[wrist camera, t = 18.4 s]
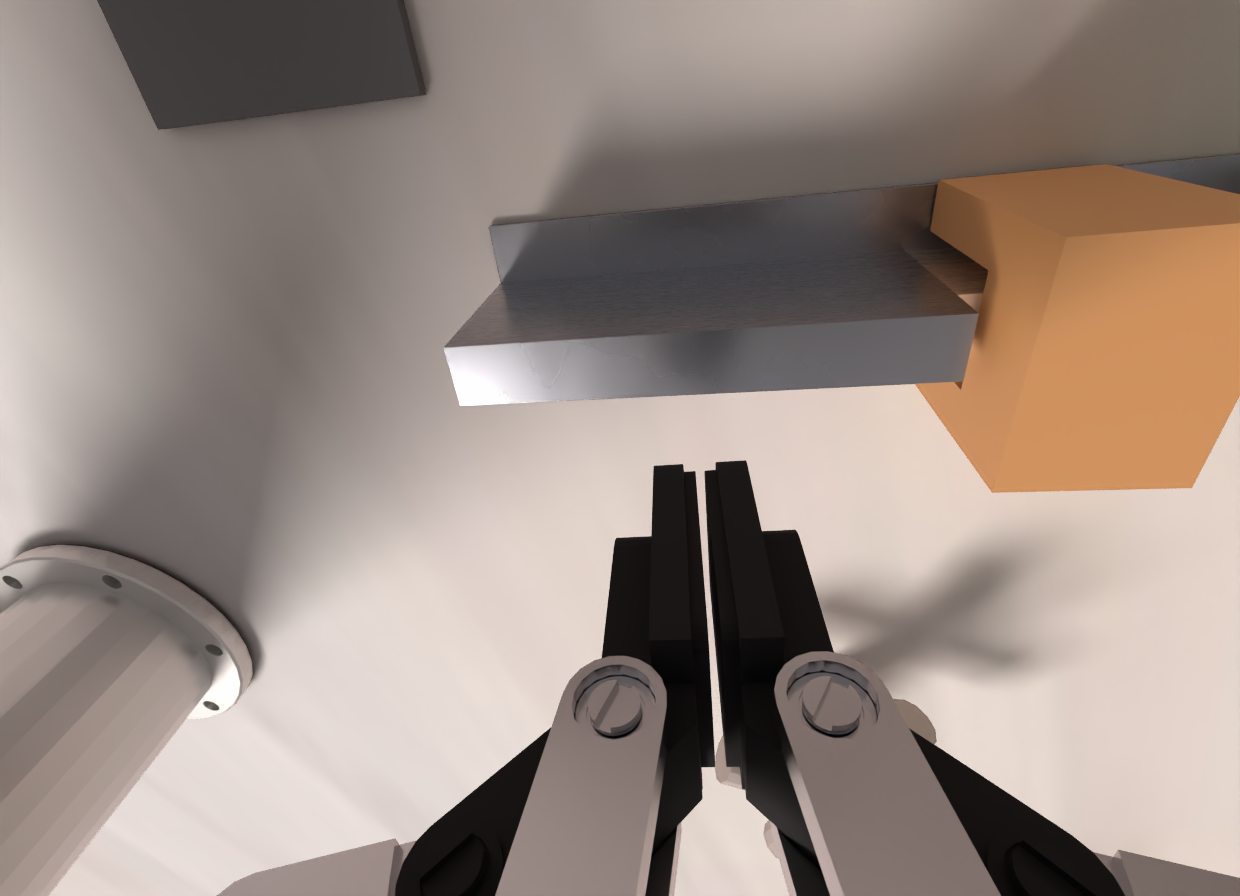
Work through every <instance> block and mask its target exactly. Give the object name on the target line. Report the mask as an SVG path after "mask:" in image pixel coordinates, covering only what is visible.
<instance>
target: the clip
mask: <svg viewBox="0 0 1240 896" xmlns="http://www.w3.org/2000/svg"><path fill="white" fill-rule="evenodd" d="M930 231H931V232H933V233H934V234H935V235H937V236H938V237H940V238H941V239H943V240H944V241H946V242H947V243H949V244H950V245H952V246H953V247H955V248H956V249H958V250H959V251H961V252H962V253H964V254H965V255H967V256H968V257H969V258H971V259H972V260H974V261H975V262H977V263H978V264H980V265H981V266H983V267H984V268H986V269H987V270H989V271H988V275H987V279H986V284H985V288H984V292H983V297H982V301H981V306H980V310H979V316H978V320H977V324H976V329H975V333H974V338H973V342H972V346H971V351H970V355H969V359H968V364H967V368H966V372H965V377H964V381H962V382H942V383H921V384H915V385H916V386H917V388H918V389H919V390H920V392H921V393H922V395H923V396H924V398H925V399H926V400H927V402H928V403H929V405H930V406H931V407H932V409H933V410H934V412H935V413H936V414H937V416H938V417H939V419H940V420H941V421H942V423H943V424H944V426H945V427H946V428H947V430H948V431H949V433H950V434H951V436H952V437H953V438H954V440H955V441H956V443H957V444H958V445H959V447H960V448H961V450H962V451H963V452H964V454H965V455H966V457H967V458H968V459H969V461H970V462H971V464H972V465H973V466H974V468H975V469H976V471H977V472H978V473H979V475H980V476H981V478H982V479H983V481H984V482H985V483H986V485H987V486H988V488H989V489H990V490H991V492H992V493H993V492H1037V491H1080V490H1123V489H1166V488H1192V487H1193V485H1194V483H1195V481H1196V479H1197V477H1198V475H1199V473H1200V471H1201V469H1202V467H1203V466H1204V464H1205V462H1206V460H1207V458H1208V456H1209V454H1210V452H1211V450H1212V448H1213V446H1214V444H1215V442H1216V440H1217V439H1218V437H1219V435H1220V433H1221V431H1222V429H1223V427H1224V425H1225V423H1226V421H1227V419H1228V417H1229V415H1230V413H1231V412H1232V410H1233V408H1234V406H1235V404H1236V402H1237V400H1238V398H1239V396H1240V194H1236V193H1231V192H1227V191H1223V190H1218V189H1214V188H1209V187H1205V186H1201V185H1196V184H1192V183H1188V182H1183V181H1179V180H1174V179H1170V178H1166V177H1161V176H1157V175H1152V174H1148V173H1144V172H1139V171H1135V170H1131V169H1126V168H1122V167H1117V166H1113V165H1109V164H1100V165H1089V166H1079V167H1069V168H1058V169H1048V170H1037V171H1027V172H1017V173H1006V174H996V175H985V176H975V177H965V178H954V179H944V180H939V181H938V187H937V193H936V199H935V205H934V211H933V217H932V223H931V228H930Z"/></svg>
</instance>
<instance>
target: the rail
mask: <svg viewBox="0 0 1240 896" xmlns="http://www.w3.org/2000/svg"><path fill="white" fill-rule="evenodd" d="M1117 167H1122V168H1126V169H1131V170H1135V171H1139V172H1144V173H1148V174H1152V175H1157V176H1161V177H1166V178H1170V179H1174V180H1179V181H1183V182H1188V183H1192V184H1196V185H1201V186H1205V187H1209V188H1214V189H1218V190H1223V191H1227V192H1231V193H1236V194H1240V154H1233V155H1223V156H1212V157H1202V158H1191V159H1181V160H1170V161H1160V162H1149V163H1139V164H1128V165H1118V166H1117ZM937 187H938V183H929V184H919V185H908V186H898V187H887V188H877V189H866V190H856V191H845V192H835V193H824V194H814V195H803V196H793V197H783V198H772V199H762V200H751V201H741V202H730V203H720V204H709V205H699V206H688V207H678V208H667V209H657V210H646V211H636V212H625V213H615V214H604V215H594V216H583V217H573V218H562V219H552V220H541V221H531V222H521V223H510V224H500V225H490V226H489V231H490V235H491V240H492V245H493V249H494V254H495V258H496V263H497V267H498V272H499V276H500V281H501V284H500V285H499V286H498V287H497V288H496V289H495V290H494V292H493V293H492V294H491V295H490V296H489V297H488V298H487V299H486V301H485V302H484V303H483V304H482V305H481V306H480V307H479V308H478V310H477V311H476V312H475V313H474V314H473V315H472V316H471V317H470V319H469V320H468V321H467V322H466V323H465V324H464V325H463V326H462V328H461V329H460V330H459V331H458V332H457V333H456V334H455V335H454V337H453V338H452V339H451V340H450V341H449V342H448V343H447V344H446V346H445V347H444V352H445V355H446V359H447V362H448V365H449V369H450V372H451V376H452V379H453V383H454V386H455V390H456V393H457V396H458V400H459V403H460V406H471V405H491V404H512V403H532V402H553V401H573V400H594V399H614V398H635V397H655V396H676V395H696V394H716V393H737V392H757V391H778V390H798V389H819V388H839V387H860V386H880V385H901V384H921V383H942V382H962V381H964V377H965V372H966V368H967V364H968V359H969V355H970V351H971V346H972V342H973V338H974V333H975V329H976V324H977V320H978V316H979V310H980V306H981V301H982V297H983V292H984V288H985V284H986V279H987V275H988V271H989V270H987V269H986V268H984V267H983V266H981V265H980V264H978V263H977V262H975V261H974V260H972V259H971V258H969V257H968V256H967V255H965V254H964V253H962V252H961V251H959V250H958V249H956V248H955V247H953V246H952V245H950V244H949V243H947V242H946V241H944V240H943V239H941V238H940V237H938V236H937V235H935V234H934V233H933V232H931V231H930V228H931V223H932V217H933V211H934V205H935V199H936V193H937Z"/></svg>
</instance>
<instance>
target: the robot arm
mask: <svg viewBox="0 0 1240 896" xmlns="http://www.w3.org/2000/svg"><path fill="white" fill-rule="evenodd" d="M705 492H706V513H707V534H708V555H709V576H710V592H711V603H712V615H713V626H714V637H715V648H716V659H717V670H718V681H719V692H720V703H721V714H722V725H723V737H724V748H725V759H726V767H740V775H741V784H742V789H745V790H746V799H747V800H748V801H749V802H750V803H751V804H752V805H753V806H755V807H756V808H757V809H758V810H759V811H760V812H761V813H762V814H763V815H764V816H765V817H766V818H768V819H769V820H770V824H771V832H772V836H773V839H774V843H775V846H776V850H777V853H778V857H779V861H780V864H781V868H782V871H783V875H784V878H785V882H786V885H787V889H788V892H789V896H1240V878H1237V877H1233V876H1229V875H1224V874H1220V873H1216V872H1212V871H1207V870H1203V869H1199V868H1195V867H1190V866H1186V865H1182V864H1177V863H1173V862H1169V861H1165V860H1160V859H1156V858H1152V857H1147V856H1143V855H1139V854H1135V853H1130V852H1126V851H1122V850H1118V851H1117V852H1116V854H1115V855H1114V857H1111V856H1107V855H1103V854H1099V853H1095V852H1092V851H1091V850H1089V849H1088V848H1087V847H1086V846H1084V845H1083V844H1082V843H1081V842H1079V841H1078V840H1077V839H1076V838H1074V837H1073V836H1072V835H1070V834H1069V833H1067V832H1066V831H1064V830H1063V829H1061V828H1060V827H1058V826H1057V825H1055V824H1054V823H1052V822H1051V821H1049V820H1048V819H1046V818H1045V817H1043V816H1042V815H1040V814H1039V813H1037V812H1036V811H1034V810H1033V809H1031V808H1030V807H1028V806H1027V805H1025V804H1023V803H1022V802H1020V801H1019V800H1017V799H1016V798H1014V797H1013V796H1011V795H1010V794H1008V793H1007V792H1005V791H1004V790H1002V789H1001V788H999V787H998V786H996V785H995V784H993V783H992V782H990V781H989V780H987V779H986V778H984V777H983V776H981V775H980V774H978V773H976V772H975V771H973V770H972V769H970V768H969V767H967V766H966V765H964V764H963V763H961V762H960V761H958V760H957V759H955V758H954V757H952V756H951V755H949V754H948V753H946V752H945V751H943V750H942V749H940V748H939V747H937V746H936V745H934V744H933V743H931V742H929V741H928V740H926V739H925V738H923V737H922V736H920V735H919V734H917V733H916V732H914V731H913V730H911V729H910V728H909V727H908V726H907V724H906V722H905V720H904V718H903V717H902V715H901V713H900V711H899V709H898V707H897V706H896V704H895V702H894V700H893V698H892V697H891V695H890V693H889V691H888V689H887V688H886V687H885V685H884V684H883V683H882V681H881V680H880V679H879V677H878V676H877V675H876V674H875V673H874V672H873V671H871V670H870V669H869V668H868V667H866V666H865V665H864V664H863V663H861V662H859V661H857V660H854V659H852V658H850V657H848V656H846V655H842V654H838V653H834V652H833V648H832V645H831V642H830V638H829V635H828V631H827V628H826V625H825V621H824V618H823V615H822V611H821V608H820V605H819V601H818V598H817V595H816V591H815V588H814V585H813V581H812V578H811V575H810V571H809V568H808V565H807V561H806V558H805V555H804V551H803V548H802V545H801V541H800V538H799V535H798V533H797V531H796V530H782V531H762V530H761V526H760V521H759V517H758V512H757V507H756V503H755V498H754V494H753V489H752V485H751V480H750V475H749V471H748V466H747V462H746V461H730V462H716V470H710V471H705ZM252 674H253V673H252V661H251V658H250V655H249V652H248V649H247V646H246V644H245V643H244V641H243V640H242V638H241V636H240V635H239V633H238V632H237V630H236V629H235V628H234V627H233V625H232V624H231V623H230V622H229V621H228V620H227V619H226V617H225V616H224V615H223V614H222V613H221V612H220V611H218V610H217V609H216V608H215V607H214V606H213V605H212V604H210V603H209V602H208V601H207V600H206V599H205V598H203V597H202V596H200V595H199V594H198V593H196V592H195V591H193V590H192V589H190V588H189V587H188V586H186V585H185V584H183V583H181V582H179V581H178V580H176V579H174V578H172V577H171V576H169V575H167V574H165V573H163V572H162V571H160V570H157V569H155V568H153V567H151V566H148V565H146V564H144V563H141V562H139V561H137V560H134V559H131V558H128V557H125V556H122V555H119V554H116V553H113V552H110V551H105V550H100V549H95V548H90V547H85V546H71V545H51V546H42V547H37V548H34V549H31V550H28V551H25V552H23V553H21V554H20V555H19V556H17V557H16V558H14V559H13V560H11V561H10V562H9V563H7V564H6V565H4V566H3V567H1V568H0V896H49V895H50V894H51V892H52V891H53V890H54V888H55V887H56V886H57V885H58V883H59V882H60V881H61V879H62V878H63V877H64V876H65V874H66V873H67V872H68V870H69V869H70V868H71V867H72V865H73V864H74V863H75V861H76V860H77V859H78V858H79V856H80V855H81V854H82V852H83V851H84V850H85V849H86V847H87V846H88V845H89V843H90V842H91V841H92V839H93V838H94V837H95V836H96V834H97V833H98V832H99V830H100V829H101V828H102V827H103V825H104V824H105V823H106V821H107V820H108V819H109V818H110V816H111V815H112V814H113V812H114V811H115V810H116V809H117V807H118V806H119V805H120V803H121V802H122V801H123V800H124V798H125V797H126V796H127V794H128V793H129V792H130V791H131V789H132V788H133V787H134V785H135V784H136V783H137V782H138V780H139V779H140V778H141V776H142V775H143V774H144V773H145V771H146V770H147V769H148V767H149V766H150V765H151V764H152V762H153V761H154V760H155V758H156V757H157V756H158V755H159V753H160V752H161V751H162V749H163V748H164V747H165V746H166V744H167V743H168V742H169V740H170V739H171V738H172V737H173V735H174V734H175V733H176V731H177V730H178V729H179V728H180V726H181V725H182V724H183V722H184V721H185V720H187V719H201V718H207V717H212V716H216V715H218V714H220V713H223V712H225V711H227V710H229V709H230V708H231V707H232V706H233V705H235V704H236V703H237V702H238V700H239V699H240V697H241V696H242V695H243V693H244V692H245V690H246V689H247V687H248V686H249V684H250V681H251V678H252ZM701 767H715V755H714V736H713V717H712V698H711V679H710V660H709V643H708V628H707V615H706V602H705V589H704V577H703V564H702V551H701V539H700V526H699V513H698V500H697V488H696V475H695V471H693V472H684V470H683V464H679V465H663V466H654V474H653V508H652V536H651V537H629V538H616V540H615V545H614V553H613V562H612V571H611V580H610V589H609V598H608V607H607V616H606V625H605V634H604V643H603V652H602V658H601V659H598V660H594V661H593V662H591V663H589V664H588V665H586V666H584V667H583V668H581V669H580V670H579V671H578V672H577V673H576V674H575V675H574V676H573V677H572V678H571V679H570V681H569V682H568V684H567V686H566V688H565V690H564V692H563V694H562V697H561V700H560V703H559V706H558V709H557V712H556V715H555V718H554V721H553V724H552V727H551V728H550V729H549V730H547V731H546V732H545V733H544V734H542V735H541V736H540V737H539V738H538V739H536V740H535V741H534V742H533V743H532V744H530V745H529V746H528V747H527V748H525V749H524V750H523V751H522V752H521V753H519V754H518V755H517V756H516V757H515V758H513V759H512V760H511V761H510V762H508V763H507V764H506V765H505V766H504V767H502V768H501V769H500V770H499V771H497V772H496V773H495V774H494V775H493V776H491V777H490V778H489V779H488V780H487V781H485V782H484V783H483V784H482V785H480V786H479V787H478V788H477V789H476V790H474V791H473V792H472V793H471V794H470V795H468V796H467V797H466V798H465V799H463V800H462V801H461V802H460V803H459V804H457V805H456V806H455V807H454V808H453V809H451V810H450V811H449V812H448V813H446V814H445V815H444V816H443V817H442V818H440V819H439V820H438V821H437V822H435V823H434V824H433V825H432V826H431V827H430V828H429V829H428V830H427V831H426V832H425V833H424V834H423V835H422V836H421V837H420V838H419V839H418V840H417V841H413V842H409V843H405V844H401V845H399V843H398V842H397V840H396V839H391V840H387V841H383V842H379V843H375V844H371V845H367V846H363V847H359V848H355V849H350V850H346V851H342V852H338V853H334V854H330V855H326V856H322V857H318V858H314V859H310V860H306V861H302V862H298V863H294V864H290V865H286V866H282V867H277V868H273V869H269V870H265V871H261V872H257V873H254V874H252V875H249V876H247V877H245V878H242V879H240V880H238V881H235V882H234V883H232V884H231V885H230V886H229V887H227V888H226V889H225V890H223V891H222V892H221V893H220V894H218V895H217V896H674V891H675V882H676V874H677V865H678V857H679V848H680V840H681V821H682V820H683V819H684V818H685V817H686V816H687V815H688V814H689V813H690V812H691V811H692V809H693V808H694V807H695V806H696V805H697V804H698V803H699V802H700V801H701V800H702V789H703V788H702V769H701Z"/></svg>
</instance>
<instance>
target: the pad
mask: <svg viewBox="0 0 1240 896" xmlns="http://www.w3.org/2000/svg"><path fill="white" fill-rule="evenodd" d="M97 1H98V3H99V5H100V7H101V9H102V11H103V13H104V16H105V18H106V20H107V22H108V24H109V26H110V28H111V30H112V33H113V35H114V37H115V39H116V41H117V43H118V45H119V47H120V50H121V52H122V54H123V56H124V58H125V60H126V62H127V64H128V67H129V69H130V71H131V73H132V75H133V77H134V79H135V82H136V84H137V86H138V88H139V90H140V92H141V94H142V96H143V99H144V101H145V103H146V105H147V107H148V109H149V111H150V113H151V116H152V118H153V120H154V122H155V124H156V126H157V128H158V130H160V129H169V128H176V127H184V126H192V125H199V124H207V123H214V122H222V121H230V120H237V119H245V118H252V117H260V116H268V115H275V114H283V113H290V112H298V111H306V110H313V109H321V108H328V107H336V106H344V105H351V104H359V103H366V102H374V101H382V100H389V99H397V98H404V97H412V96H420V95H426V92H425V88H424V84H423V80H422V76H421V71H420V67H419V63H418V59H417V55H416V51H415V47H414V43H413V39H412V35H411V31H410V27H409V23H408V19H407V15H406V10H405V6H404V2H403V0H97Z"/></svg>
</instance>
